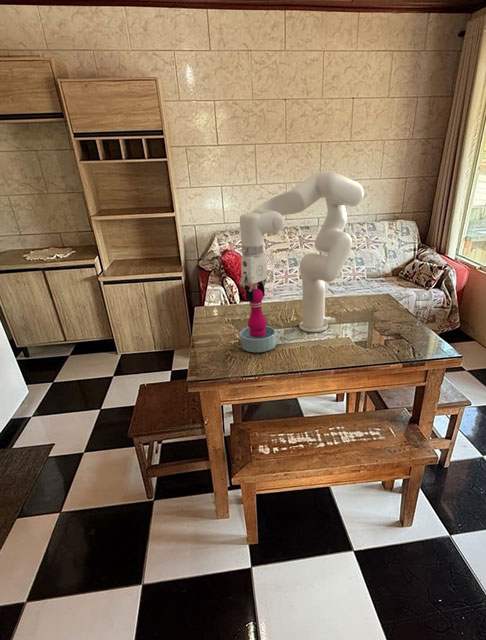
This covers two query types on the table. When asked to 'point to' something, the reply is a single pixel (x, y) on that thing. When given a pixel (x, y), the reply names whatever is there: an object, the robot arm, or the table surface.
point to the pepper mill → (257, 315)
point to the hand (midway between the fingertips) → (255, 298)
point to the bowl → (258, 340)
